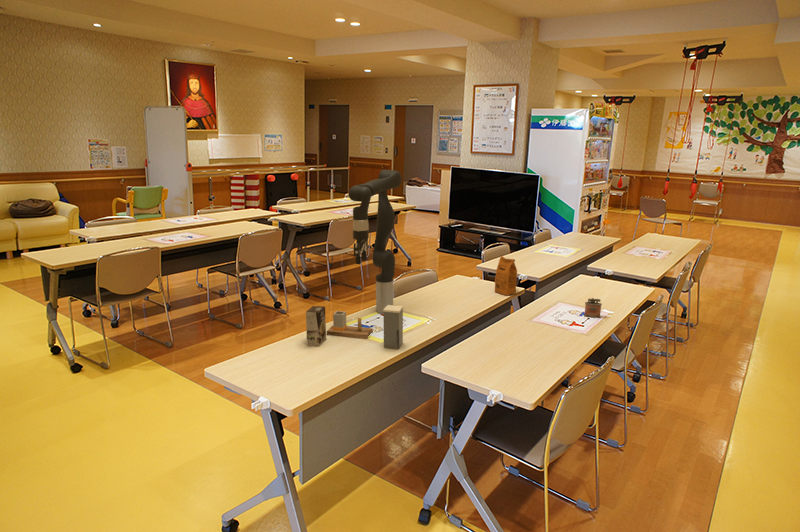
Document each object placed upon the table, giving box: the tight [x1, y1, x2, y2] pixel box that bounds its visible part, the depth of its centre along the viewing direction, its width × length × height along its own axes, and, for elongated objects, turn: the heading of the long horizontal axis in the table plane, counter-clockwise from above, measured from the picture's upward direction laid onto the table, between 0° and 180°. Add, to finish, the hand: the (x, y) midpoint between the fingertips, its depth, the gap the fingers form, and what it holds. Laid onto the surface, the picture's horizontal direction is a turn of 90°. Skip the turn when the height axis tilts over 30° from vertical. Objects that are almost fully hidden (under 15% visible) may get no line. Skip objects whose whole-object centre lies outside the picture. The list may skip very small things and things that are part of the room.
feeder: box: [382, 304, 404, 350], centre depth 233 cm, size 7×7×18 cm
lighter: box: [583, 297, 603, 319], centre depth 271 cm, size 8×3×10 cm, turn 73°
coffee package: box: [494, 255, 518, 296], centre depth 312 cm, size 10×12×22 cm
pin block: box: [326, 317, 374, 340], centre depth 248 cm, size 9×20×8 cm, turn 76°
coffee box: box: [305, 305, 327, 347], centre depth 237 cm, size 9×6×16 cm
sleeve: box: [332, 310, 348, 331], centre depth 249 cm, size 5×5×8 cm
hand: (361, 262), depth 250 cm, fingers open, 8 cm apart
